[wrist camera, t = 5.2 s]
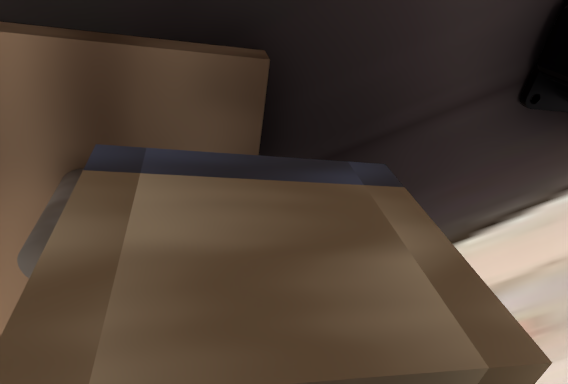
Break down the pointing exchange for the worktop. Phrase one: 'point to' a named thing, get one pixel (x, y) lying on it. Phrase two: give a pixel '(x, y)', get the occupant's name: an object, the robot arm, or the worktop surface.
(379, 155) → the worktop surface
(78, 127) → the pin board
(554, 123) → the worktop surface
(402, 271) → the sleeve
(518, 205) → the worktop surface
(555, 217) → the worktop surface
